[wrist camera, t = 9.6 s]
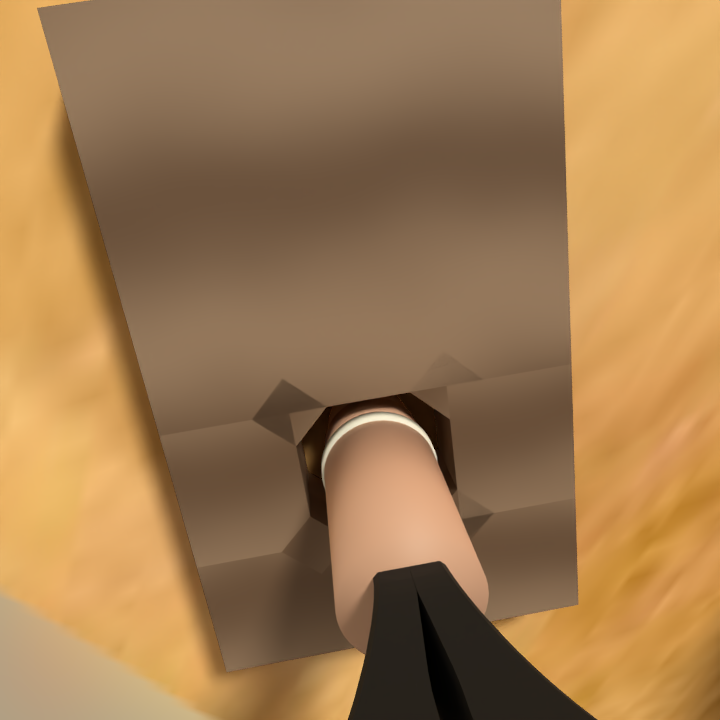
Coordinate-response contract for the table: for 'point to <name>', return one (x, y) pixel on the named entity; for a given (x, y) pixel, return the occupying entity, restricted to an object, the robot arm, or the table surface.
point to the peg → (387, 509)
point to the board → (336, 271)
